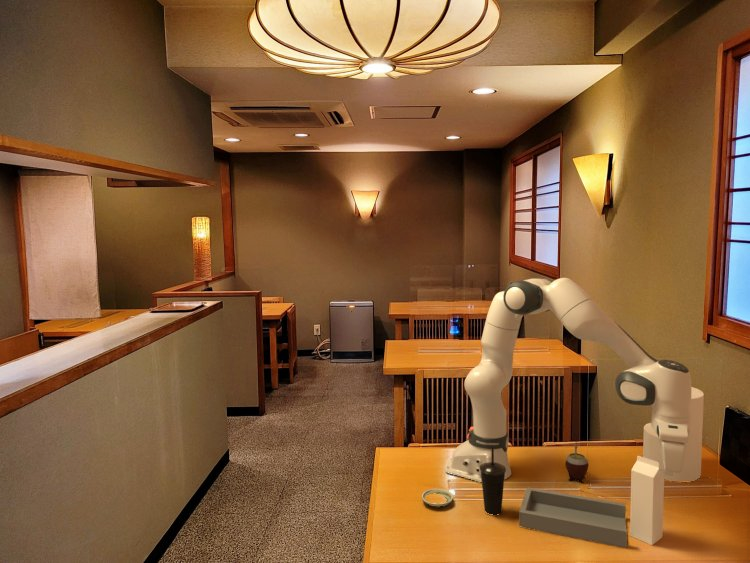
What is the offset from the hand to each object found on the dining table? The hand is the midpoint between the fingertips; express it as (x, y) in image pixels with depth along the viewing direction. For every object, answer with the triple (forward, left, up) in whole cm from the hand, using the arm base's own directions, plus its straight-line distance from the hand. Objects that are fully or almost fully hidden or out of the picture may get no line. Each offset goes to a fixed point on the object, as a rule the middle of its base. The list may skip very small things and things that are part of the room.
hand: (668, 473), depth 141 cm
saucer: (-63, -3, -19) cm, 66 cm away
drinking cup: (-46, -2, -19) cm, 50 cm away
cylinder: (+5, +45, -19) cm, 49 cm away
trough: (-23, 0, -19) cm, 30 cm away
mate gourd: (-24, +27, -19) cm, 41 cm away
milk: (-5, 0, -19) cm, 19 cm away
